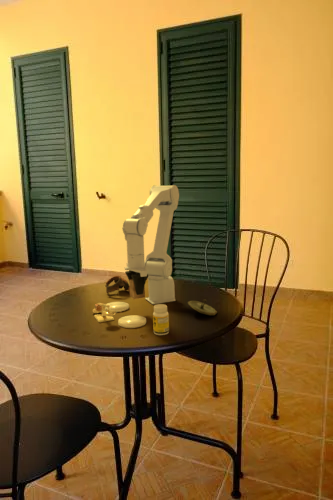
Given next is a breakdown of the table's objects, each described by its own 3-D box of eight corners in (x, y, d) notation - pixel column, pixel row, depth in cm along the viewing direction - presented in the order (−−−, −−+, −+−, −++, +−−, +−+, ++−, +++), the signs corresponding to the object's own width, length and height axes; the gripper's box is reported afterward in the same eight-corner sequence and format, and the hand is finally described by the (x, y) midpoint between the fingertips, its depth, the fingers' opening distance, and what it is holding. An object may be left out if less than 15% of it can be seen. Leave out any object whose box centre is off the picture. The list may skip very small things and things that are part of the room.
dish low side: (124, 303, 153) (124, 300, 153) (132, 309, 145) (132, 307, 145) (100, 306, 149) (100, 304, 149) (107, 313, 141) (107, 311, 141)
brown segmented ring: (133, 296, 163) (123, 281, 159) (112, 307, 164) (102, 292, 160) (131, 281, 174) (122, 267, 170) (112, 291, 175) (102, 277, 171)
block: (140, 294, 143) (140, 277, 142) (145, 297, 139) (144, 280, 138) (130, 296, 141) (129, 279, 140) (134, 299, 138) (133, 281, 136)
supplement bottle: (153, 330, 125) (152, 303, 124) (168, 329, 126) (167, 303, 124) (153, 336, 121) (153, 308, 119) (169, 335, 121) (169, 308, 120)
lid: (186, 309, 145) (186, 295, 144) (214, 308, 145) (214, 294, 144) (189, 319, 134) (188, 304, 133) (219, 318, 134) (219, 303, 134)
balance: (104, 310, 145) (103, 293, 144) (118, 325, 130) (117, 306, 129) (90, 312, 143) (89, 295, 142) (103, 327, 128) (102, 308, 127)
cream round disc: (140, 316, 138) (140, 313, 138) (150, 324, 130) (150, 321, 130) (114, 320, 134) (114, 318, 134) (123, 329, 126) (123, 326, 126)
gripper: (117, 251, 142) (119, 289, 145) (131, 258, 129) (133, 299, 132) (136, 249, 145) (138, 286, 148) (152, 256, 132) (153, 296, 135)
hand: (137, 292), depth 140 cm, fingers closed on block, 4 cm apart
